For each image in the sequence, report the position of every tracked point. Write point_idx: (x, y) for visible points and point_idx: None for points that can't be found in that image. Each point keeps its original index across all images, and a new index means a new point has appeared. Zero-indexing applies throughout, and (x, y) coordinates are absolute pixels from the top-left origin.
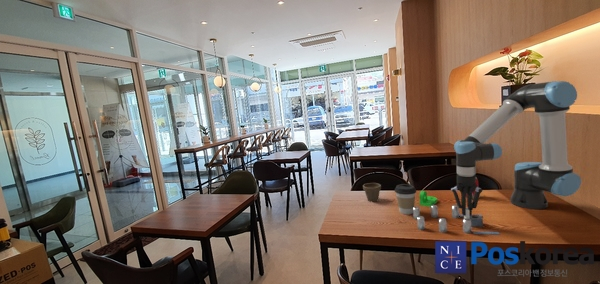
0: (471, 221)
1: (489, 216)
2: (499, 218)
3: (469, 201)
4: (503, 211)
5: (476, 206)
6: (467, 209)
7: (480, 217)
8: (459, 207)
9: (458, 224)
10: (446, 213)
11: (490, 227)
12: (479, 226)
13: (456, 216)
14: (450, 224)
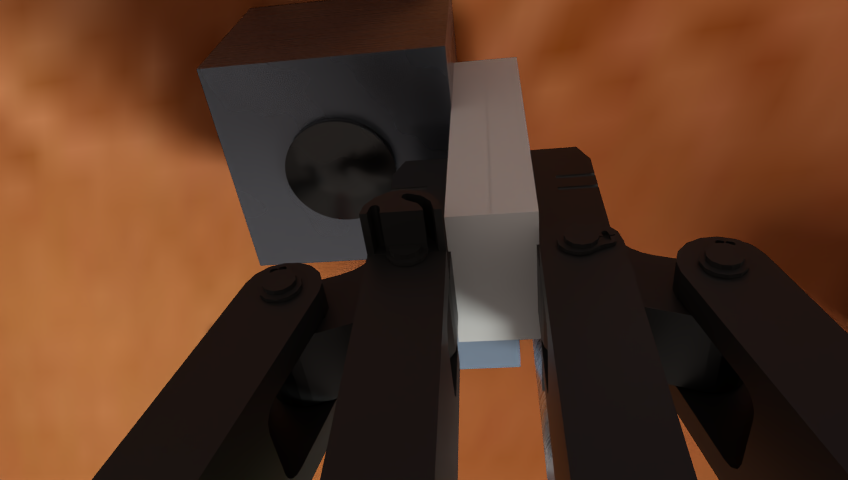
0: (430, 26)
1: (143, 359)
2: (29, 319)
3: (419, 447)
4: (4, 470)
5: (230, 305)
6: (487, 243)
7: (235, 144)
8: (744, 254)
9: (632, 68)
10: None
11: (134, 18)
12: (302, 5)
13: None
14: (780, 49)
